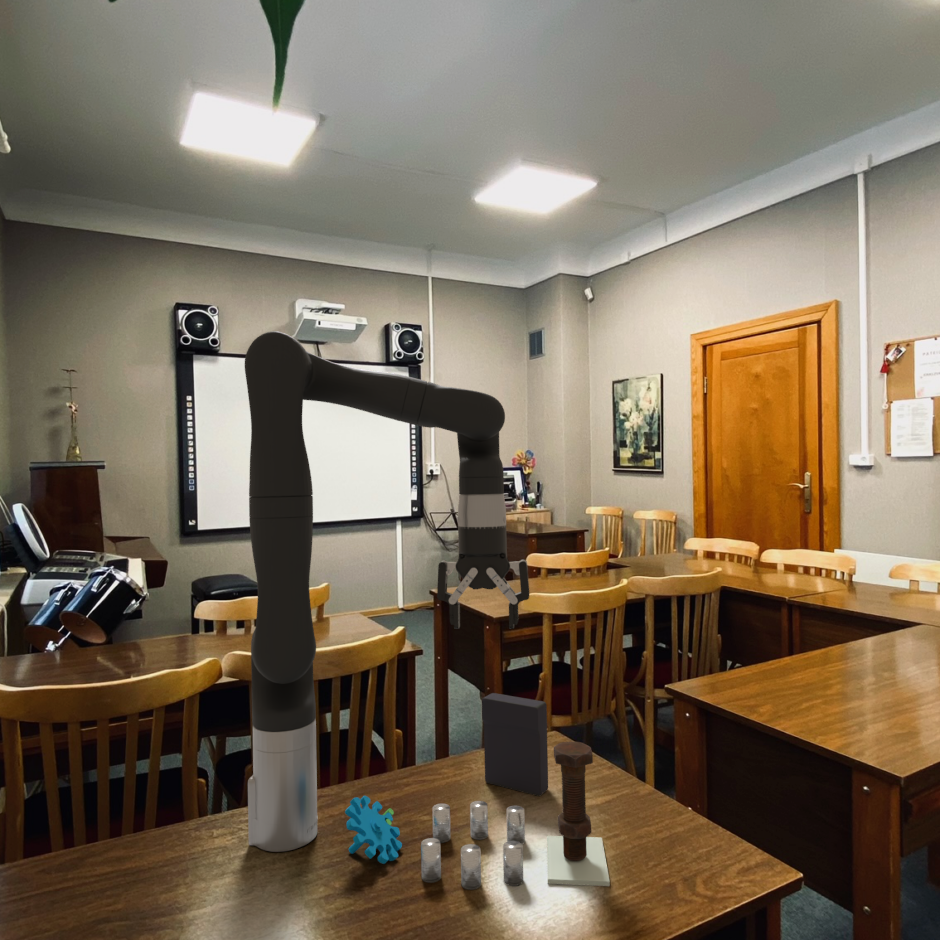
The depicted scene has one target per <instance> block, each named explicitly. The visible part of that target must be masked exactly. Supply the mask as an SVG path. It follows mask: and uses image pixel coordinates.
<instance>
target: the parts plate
mask: <svg viewBox="0 0 940 940" xmlns="http://www.w3.org/2000/svg"><path fill="white" fill-rule="evenodd" d="M563 849H564V848H563V835H559V836H558V835H546V858H547V859H546V861H547V862H546V865H547V866H546V867H547V868H546V869H547V871H546V872H547V884H548V885H549V884H550V885H570V886H571V885H572V886H573V885H574V886H595V887H596V886H599V887H611V885H610V883H611V882H610V876H609V869H608V866H607V860H606V854H605V849H604V842H603V837H596V836H594V837H593V836H592V837H591V836H587V837H586V849H587V850H586V851H587V856H586V857H585V858H584V859H583V860H580V861H569V860H568V859H566V858H565V857H564V853H563Z"/></svg>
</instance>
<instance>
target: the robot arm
mask: <svg viewBox="0 0 940 940" xmlns="http://www.w3.org/2000/svg"><path fill="white" fill-rule="evenodd" d="M244 374H245V380H246V381H245V382H246V387H247V395H248V405H249V412H250V425H251V430H250V431H251V432H250V434H251V435H250V436H251V437H250V451H249V452H250V453H249V485H248V486H249V487H248V496H249V497H248V507H249V508H248V511H249V516H248V517H249V530H250V531H249V532H250V534H249V535H250V542H251V549H252V557H253V563H254V570H255V575H256V584H257V585H256V586H257V602H256V603H257V608H256V619H255V620H256V621H255V628H254V630H253V633H252V636H251V642H250V643H251V644H250V655H251V656H250V659H251V660H250V663H251V669H250V670H251V716H252V717H251V719H252V721H251V723H252V760H253V761H252V766H253V767H252V771H253V773H252V775H251V776H250V777H249V778H248V780H247V815H248V816H247V817H248V818H247V819H248V820H247V822H248V824H247V826H248V831H247V832H248V846H255V847H257V848H259V849H260V850H263V851H266V852H276V853H277V852H278V853H279V852H288V851H292V850H296V849H298V848H301V847H304V846H306V845H307V844H309V843H310V842H312V841H313V840H314V839H315V838H316V837H317V834H318V822H319V821H318V820H319V819H318V786H317V784H318V783H317V782H318V781H317V780H318V778H317V777H318V776H317V774H318V772H317V771H318V770H317V769H318V768H317V725H316V724H317V721H316V714H317V713H316V710H317V709H316V708H317V707H316V706H317V705H316V695H315V684H314V683H315V682H314V661H315V657H316V653H317V641H316V637H315V631H314V623H313V616H312V607H311V606H312V605H311V596H310V577H311V576H310V575H311V565H312V563H311V562H312V553H313V551H312V550H313V533H314V531H313V525H314V497H313V495H314V492H313V482H312V475H311V474H312V473H311V469H310V468H311V466H310V463H309V458H308V457H309V456H308V452H307V447H306V442H305V437H304V431H303V408H304V407H303V406H304V404H303V403H304V401H311V402H313V401H314V402H321V403H329V404H332V405H338V406H339V405H340V406H344V407H348V408H352V409H356V410H358V411H362V412H367V413H369V414H373V415H376V416H380V417H383V418H387V419H389V420H395V421H398V422H402V423H405V424H406V423H407V424H410V425H414V426H419V427H422V428H430V429H434V428H439V429H442V430H446V431H449V432H453V433H456V436H457V437H456V439H457V447H458V456H459V465H458V466H459V469H458V505H457V518H456V521H457V531H458V532H457V533H458V535H457V538H458V539H457V541H458V544H457V545H458V559H457V560H456V561H447V560H443V559H442V561H441V560H440V562H439V563H438V566H437V567H438V568H437V589H436V598H437V600H438V601H443V602H446V603H447V604H448V605H449V623H450V625H451V626H453V628H454V630H455V629H456V630H457V629H458V630H459V629H460V627H461V605H460V603H461V602H459V599H460V598H461V596H462V595H463V593H464V592H465V591H466V589H468V587H469V588H470V589H472V590H480V589H486V590H494V589H495V588H498V589H499V590H500V592H501V593H502V594H503V595H504V596H505V598H506V599H507V600H508V601H509V603H508V626H509V627H508V629H509V630H511V629H515V626H517V625H518V623H519V604H520V603H521V602H523V601H527V600H529V599H530V582H529V573H528V562H527V560H526V559H520V560H519V561H516V560H515V561H510V560H509V559H508V551H507V549H508V547H507V546H508V544H507V540H508V539H507V507H506V501H505V494H504V493H505V485H504V483H505V482H504V481H505V480H504V479H505V478H504V466H503V465H504V464H503V462H502V459H501V457H500V456H501V455H500V432H501V431H502V429H503V427H504V425H505V421H506V412H505V409H504V407H503V405H502V404H501V403H502V402H500V401H499V400H498V399H497V398H496V397H494V396H492V395H491V394H489V393H485V392H482V391H481V392H480V391H477V390H473V389H472V390H471V389H465V388H457V387H452V386H445V385H440V384H437V383H434V382H430V381H427V380H423V379H420V378H415V377H411V376H408V375H403V374H398V373H393V372H387V371H378V370H371V369H370V370H369V369H361V368H358V367H352V366H347V365H344V364H340V363H337V362H333V361H330V360H328V359H325V358H322V357H321V356H317V355H316V354H313V353H312V352H309V351H307V350H306V349H305V347H304V346H303V345H302V344H301V343H300V341H298V340H297V339H296V338H294V337H292V336H291V335H289V334H287V333H285V332H281V331H274V330H273V331H268V332H264V333H262V334H260V335H259V336H257V337H256V338H255V339H254V340H252V342H251V344H250V345H249V346H248V348H247V350H246V353H245V357H244ZM511 569H512V570H513V572H514V574H515V575H516V576H519V581H520V583H519V584H520V591H519V592H515V591H514V589H513V588H512V587H511V585H510V583H508V581H507V580H506V578H505V577H506V575H507V574H508V573H509V571H510V570H511ZM454 570H455V571H456V572H457V573H458V574H459V576H460V577H461V578H462V581H461V582H460V583H459V584H458V586H457V588H456V589H455V590H454V591H453V593H451V592H448V578H449V576H450V575H452V573H453V571H454Z"/></svg>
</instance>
